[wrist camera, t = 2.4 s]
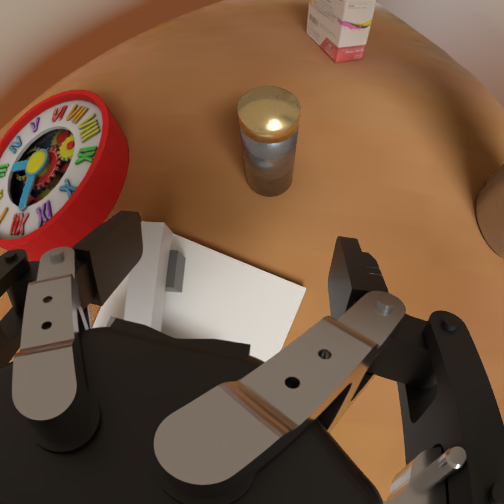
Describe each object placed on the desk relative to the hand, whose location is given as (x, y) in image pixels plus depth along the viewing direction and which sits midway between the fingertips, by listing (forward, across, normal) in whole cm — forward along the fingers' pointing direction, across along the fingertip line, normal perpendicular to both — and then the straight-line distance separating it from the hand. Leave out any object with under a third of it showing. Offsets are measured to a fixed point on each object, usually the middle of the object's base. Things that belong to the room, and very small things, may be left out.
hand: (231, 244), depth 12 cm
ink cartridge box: (+36, -6, -15) cm, 39 cm away
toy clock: (+18, +25, +4) cm, 31 cm away
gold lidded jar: (+19, 0, +2) cm, 19 cm away
